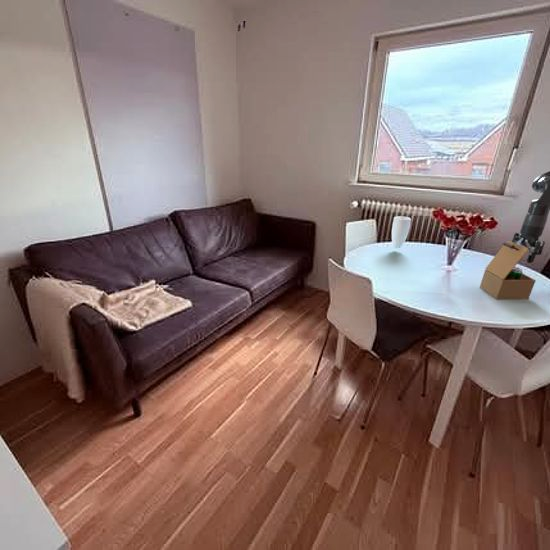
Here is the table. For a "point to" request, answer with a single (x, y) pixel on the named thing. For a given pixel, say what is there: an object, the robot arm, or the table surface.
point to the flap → (506, 259)
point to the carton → (507, 286)
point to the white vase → (400, 230)
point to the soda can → (514, 274)
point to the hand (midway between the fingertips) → (521, 259)
